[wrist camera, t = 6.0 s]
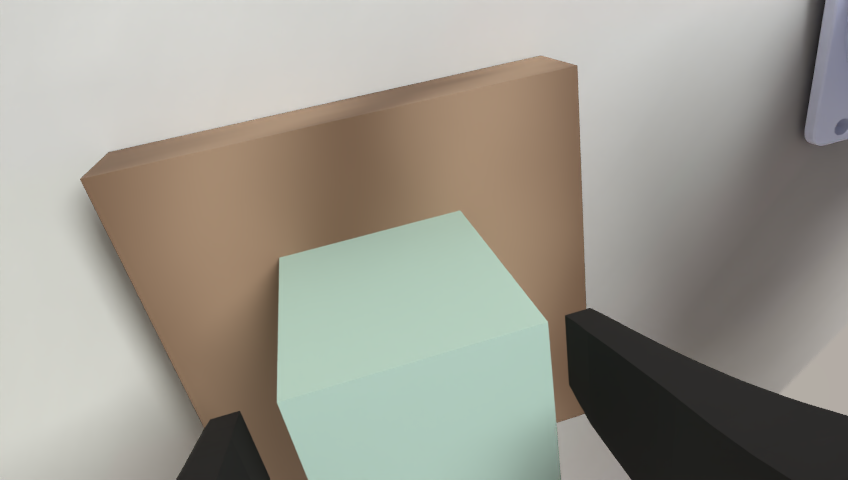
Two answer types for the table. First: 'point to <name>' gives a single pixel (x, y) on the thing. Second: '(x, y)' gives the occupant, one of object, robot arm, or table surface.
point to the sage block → (414, 360)
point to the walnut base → (343, 217)
